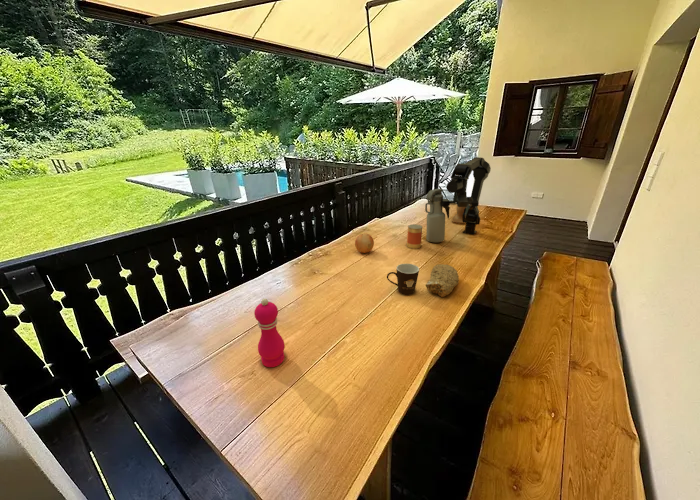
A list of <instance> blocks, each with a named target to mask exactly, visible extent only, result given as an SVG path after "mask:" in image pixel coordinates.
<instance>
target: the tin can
mask: <svg viewBox="0 0 700 500" xmlns="http://www.w3.org/2000/svg"><path fill="white" fill-rule="evenodd" d="M406 236H407V237H406V247H407V248H409V249H414V250H415V249H420V248H421V246H422V236H423V225H421V224H415V223H412V224H408V225H407V235H406Z"/></svg>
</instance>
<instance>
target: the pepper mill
mask: <svg viewBox="0 0 700 500" xmlns="http://www.w3.org/2000/svg"><path fill="white" fill-rule="evenodd" d="M253 314H254V317H255V320H256V322H257V326H258V328H259V329H260V333H261V335H260V338H259V341H258V344H257V352H258V355H259V356H260V358H261V364H262V365H263V366H265V367H266V368H274V367H278V366H280V365H281V364H282V363H283V362H284V360H285V348H286V346H285V345H286V344H285V340H284V339H283V337H282V335H281V334H280V333H279V331H278V329H277V325H278V318H277V317H278V314H279V309H278V307H277V305H276V304H275V303H273V302H271V301H269V300H268V298H266V297H265V298H262V299H261V301H260V303H259V304H258V305H256V307H255V309H254V312H253Z"/></svg>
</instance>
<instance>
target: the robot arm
mask: <svg viewBox="0 0 700 500" xmlns="http://www.w3.org/2000/svg"><path fill="white" fill-rule="evenodd" d="M452 170H453V171H452V173H451V175H450V181H448V182H447V184H446V187H445V188H446V191H447V192H449V193H450V194H453V197H452V200H450V199H449V198H443V199H442V201H441V206H442V207H443V208H442V209H444V210H445V215H446V218H447V219H450V209H451V207H450V205H456V207H457V206H458V207H466V208H465V209H464V213H463V215H462V221H463V222H466V223H465V225H464V230H463V231H462V234H466V235H473V236H475V234H477V230H476V227H477V225H480V224H481V217H480V210H479V204H480V198H481V194H482V189H483V185H484V181H485V180H486V179H488V177H489V174H490V173H491V164H490V163H489V162H488V161H487V160H485V158H484V157H479V156H475V157H473V158H472V159H470V160H468V161H466V162H464V163H462V162H461V163H456V165H455V166H454V168H453V169H452ZM472 171H473V172H472ZM471 174H472V176H473V178H474V181H473V186H472V188H471V189H472V190H471V194H470V196H467V193H468V192H467V187H468V181H469V179H470V178H469V177H470V176H471Z"/></svg>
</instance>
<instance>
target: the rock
mask: <svg viewBox="0 0 700 500" xmlns="http://www.w3.org/2000/svg"><path fill="white" fill-rule="evenodd" d="M459 277H460V276H459V274H458V270H457V269H456V268H455V267H454V266H452V265H449V264H443V263H440V264H435V265H434V266H433V267H432V268H431V272H430V278H429V280H427V282H426V283H425V287H426V289H427V290H428V291H429V292H431V293H433V294H435V295H438V296H439V297H441V298H444V297H446V296H448V295H450V294H451V293H452V292H453V290H454V288H455V287H457V286H458V285H459V282H460V279H459Z"/></svg>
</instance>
